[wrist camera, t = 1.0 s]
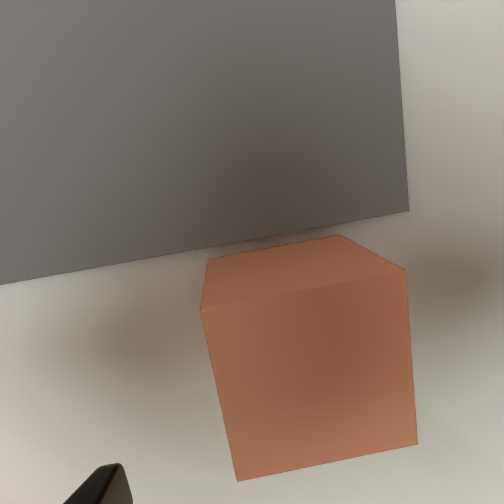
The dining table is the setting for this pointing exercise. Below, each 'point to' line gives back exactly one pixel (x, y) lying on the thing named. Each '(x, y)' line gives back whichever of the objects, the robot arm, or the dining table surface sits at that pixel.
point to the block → (309, 354)
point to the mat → (191, 125)
